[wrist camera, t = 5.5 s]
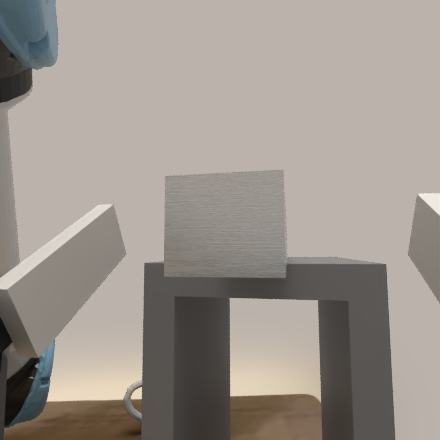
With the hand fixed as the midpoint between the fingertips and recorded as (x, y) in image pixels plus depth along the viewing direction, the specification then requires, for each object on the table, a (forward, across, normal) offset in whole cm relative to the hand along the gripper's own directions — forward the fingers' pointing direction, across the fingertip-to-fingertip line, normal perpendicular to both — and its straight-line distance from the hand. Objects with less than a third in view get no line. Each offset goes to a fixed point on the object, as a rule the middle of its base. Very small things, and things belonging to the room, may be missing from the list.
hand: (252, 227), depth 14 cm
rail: (+6, 0, -5) cm, 8 cm away
